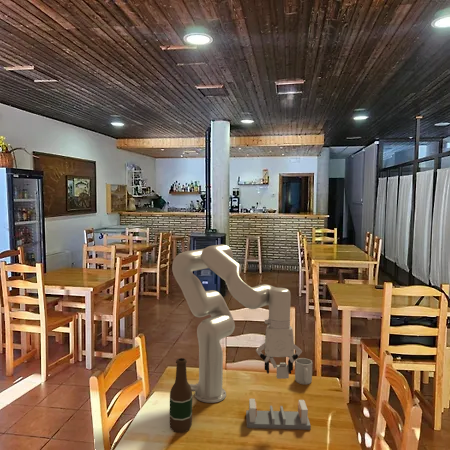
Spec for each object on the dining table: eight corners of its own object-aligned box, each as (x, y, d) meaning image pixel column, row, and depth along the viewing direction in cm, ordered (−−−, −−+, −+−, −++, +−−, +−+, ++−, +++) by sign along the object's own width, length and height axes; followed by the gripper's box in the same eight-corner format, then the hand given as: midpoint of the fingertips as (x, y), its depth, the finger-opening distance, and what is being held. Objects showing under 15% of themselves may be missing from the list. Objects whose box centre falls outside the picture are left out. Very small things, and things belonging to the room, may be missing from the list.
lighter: (287, 376, 146) (288, 354, 145) (288, 378, 144) (289, 356, 144) (268, 376, 145) (268, 354, 145) (269, 378, 144) (269, 356, 143)
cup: (309, 377, 182) (310, 358, 181) (314, 388, 172) (315, 367, 171) (293, 377, 182) (294, 357, 181) (297, 387, 172) (298, 367, 171)
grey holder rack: (247, 427, 141) (247, 409, 140) (246, 414, 150) (246, 397, 149) (310, 429, 140) (311, 411, 140) (305, 415, 149) (306, 398, 149)
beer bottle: (182, 436, 135) (183, 365, 134) (164, 428, 139) (165, 360, 138) (196, 425, 142) (197, 358, 140) (179, 418, 146) (179, 353, 144)
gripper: (255, 326, 140) (254, 376, 141) (306, 326, 140) (304, 377, 141) (254, 320, 147) (253, 367, 148) (301, 320, 147) (301, 368, 148)
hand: (278, 371), depth 145 cm, fingers closed on lighter, 7 cm apart
